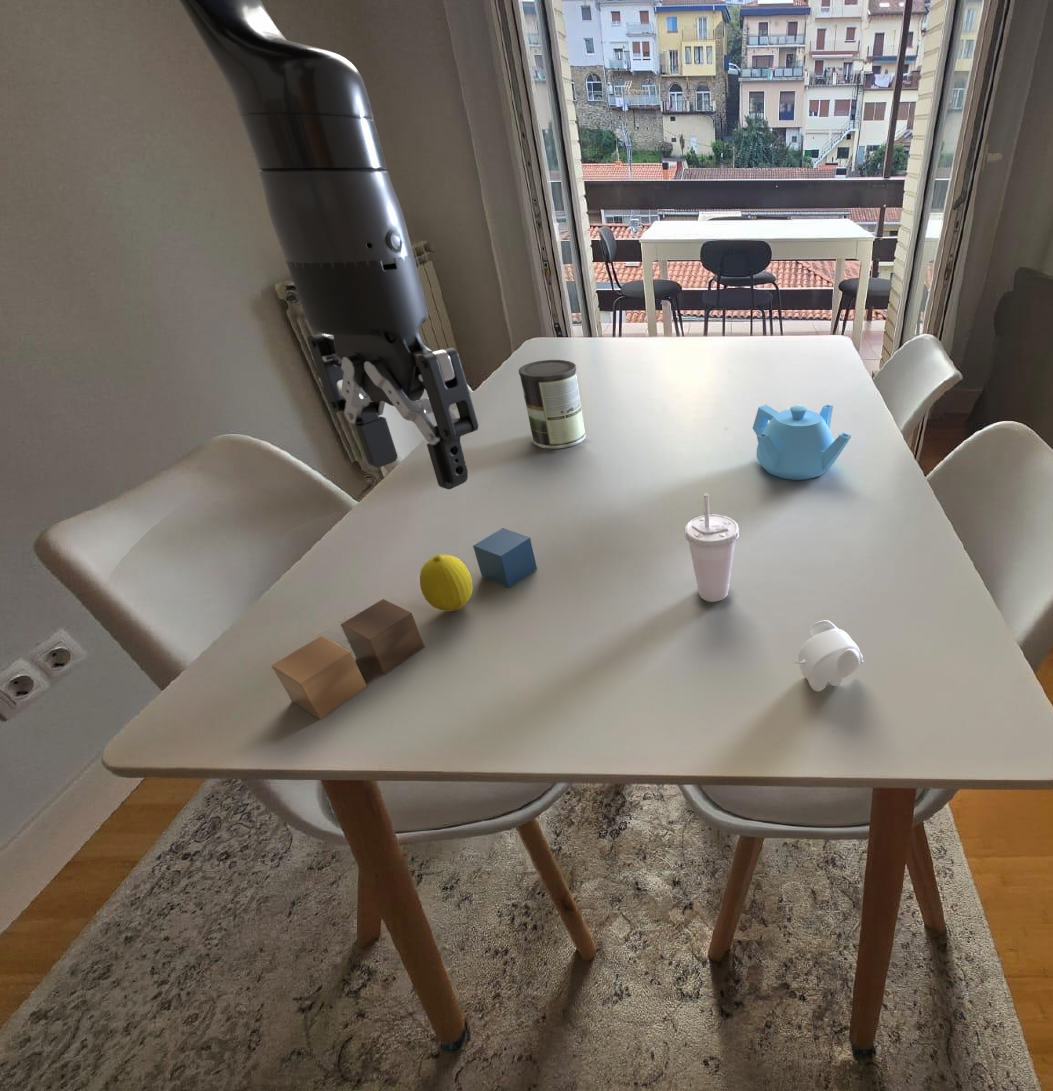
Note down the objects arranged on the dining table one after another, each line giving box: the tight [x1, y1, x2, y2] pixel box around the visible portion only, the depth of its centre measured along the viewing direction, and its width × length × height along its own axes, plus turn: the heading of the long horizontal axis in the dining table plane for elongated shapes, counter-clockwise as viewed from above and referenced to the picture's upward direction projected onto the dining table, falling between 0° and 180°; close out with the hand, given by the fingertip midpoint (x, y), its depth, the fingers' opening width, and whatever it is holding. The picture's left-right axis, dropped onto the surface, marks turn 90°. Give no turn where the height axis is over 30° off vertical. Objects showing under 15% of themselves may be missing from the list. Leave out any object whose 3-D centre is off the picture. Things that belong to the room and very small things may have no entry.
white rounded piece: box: [793, 619, 865, 692], centre depth 61 cm, size 7×8×6 cm
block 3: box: [472, 527, 538, 589], centre depth 78 cm, size 5×5×5 cm
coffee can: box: [518, 359, 587, 450], centre depth 114 cm, size 10×10×14 cm
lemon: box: [419, 554, 474, 612], centre depth 71 cm, size 6×6×8 cm
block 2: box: [340, 598, 426, 675], centre depth 65 cm, size 5×5×5 cm
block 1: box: [270, 635, 368, 720], centre depth 60 cm, size 5×5×5 cm
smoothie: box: [684, 493, 740, 603], centre depth 72 cm, size 6×6×14 cm
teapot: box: [752, 404, 852, 481], centre depth 104 cm, size 15×15×11 cm
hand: (418, 473), depth 48 cm, fingers open, 8 cm apart
